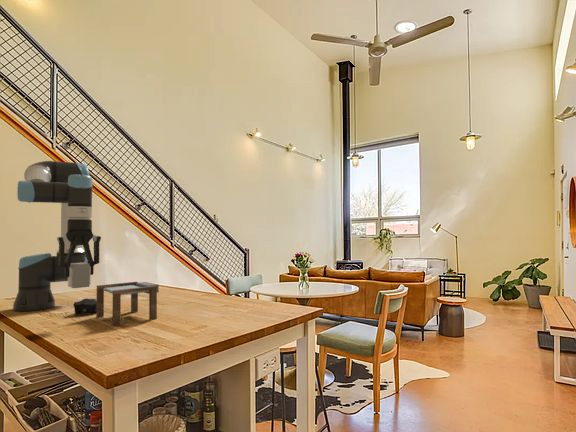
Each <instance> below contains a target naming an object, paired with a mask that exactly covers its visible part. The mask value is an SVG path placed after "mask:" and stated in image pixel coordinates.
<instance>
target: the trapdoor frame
mask: <svg viewBox="0 0 576 432" xmlns="http://www.w3.org/2000/svg"><path fill="white" fill-rule="evenodd" d="M136 283H139V282H138V281H129V282H120V283H109V284H108V283H107V284H100V285H99V284H98V285H96V299H97V304H96V313H95V315H96V318H97V317H98V318H97V319H99V317H101V318H104V317H105V314H104V312H105V311H104V310H105V309H104V308H105V307H104V306H105V301H104V299H105V298H104V297H105V291H104V288H111V287H121V286H130V285H135V286H136ZM145 290H149V294H148V296H149V298H148V300H149V303H148V306H149V307H148V314H149V315H148V319H149V320H152V321H153V320H157V319H158V317H157V316H158V315H157V314H158V313H157V312H158V304H157V302H158V293H157V286H148V287H140V288H131V289H122V290H113V294H112V324H111V325H112V326H113V327H119V326H121V324H122V323H121V314H122V312H121V308H122V307H121V304H122V302H121V301H122V300H121V296H122V295H121V293H128V292H136V291H145ZM138 302H139V293H134V294H130V313H137V312H139V303H138ZM118 325H119V326H118Z"/></svg>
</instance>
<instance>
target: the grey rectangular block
mask: <svg viewBox="0 0 576 432" xmlns="http://www.w3.org/2000/svg"><path fill="white" fill-rule="evenodd" d="M70 267H72V287H70V288H71V289H80V288H90V285H89V276H90V264H89V263H85V262H83V263H71V264H70ZM90 277H91V276H90Z"/></svg>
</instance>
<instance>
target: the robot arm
mask: <svg viewBox="0 0 576 432" xmlns="http://www.w3.org/2000/svg"><path fill="white" fill-rule="evenodd" d="M89 170H90V169H89V168H88V165H86V164H84V163H79V162H72V161H71V162H68V161H67V162H66V161H53V160H44V161H38V162H35V163H32V164H31V165H29V166H28V167H26V169H25V171H24V173H23V176H24V180H19V181H18V182H17V193H16V195H17V200H18V202H22V203H29V204H30V203H44V204H45V203H50V204H51V203H52V204H60V205H61V207H60V236H58V237H56V241H57V242H58V250H56V255H52V254H51V253H50V252H47V253H39V254H33V255H32V254H31V255H26V256H22V257H20V259H19V262H18V269H17V270H18V287H17V288H18V291H17V294H16V296H15V300H14V302H13V305H12V311H14V312H31V311H42V310H46V309H50V308H53V307H55V306H56V300H55V298H54V297H55V296H54V295H53V292H52V290H51V284H52V283H61V282H67V287H70V288H71V287H72V267H70V264H71V263H83V262H85V263H89V264H90V276H89V286H90V285H91V276H93V275H94V269H95V268H94V266H95V265H97V264H100V242H101V239H102V237H101V236H100V235H99V236H98V235H95V234H94V232H93V220H92V219H91V218H92V217H93V204H92V203H93V178H92V176H91V175H90V171H89ZM91 240H92V241H93V255H92V252H91V249H90V241H91Z"/></svg>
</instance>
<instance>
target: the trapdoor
mask: <svg viewBox="0 0 576 432" xmlns="http://www.w3.org/2000/svg"><path fill="white" fill-rule="evenodd" d="M159 285H160V284H159V283H158V284H157V283H152V282H148V281H142V282H141V281H140V282H138V283H136V286H135V285H129V286H120V287H110V288H104V292H106V293H110V294H112V295H113V290H122V289H131V288H140V287H148V286H157V294H158V293H159V292H160V291H159V289H160V286H159ZM134 293H138V294H140V293H141V294H142V293H144V294H147V295H149V290H145V291H136V292H128V293H121V296H124V295H125V296H126V295H131V294H134Z"/></svg>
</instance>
